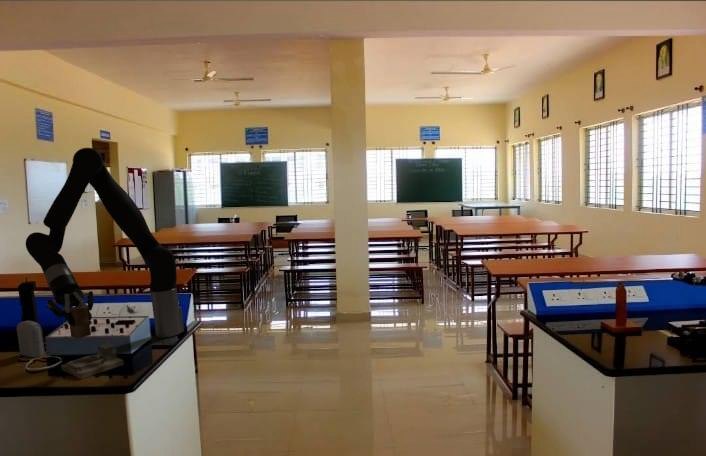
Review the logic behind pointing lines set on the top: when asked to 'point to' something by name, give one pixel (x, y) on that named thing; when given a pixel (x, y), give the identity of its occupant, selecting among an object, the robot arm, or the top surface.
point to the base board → (94, 362)
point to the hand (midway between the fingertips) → (81, 322)
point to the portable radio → (28, 301)
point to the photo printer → (30, 339)
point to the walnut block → (80, 322)
